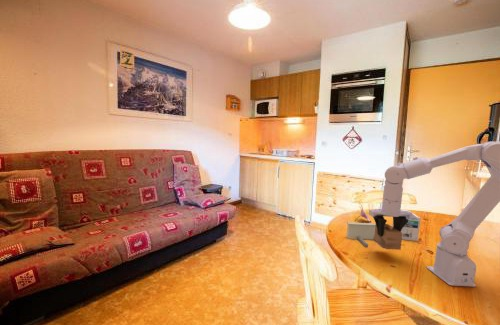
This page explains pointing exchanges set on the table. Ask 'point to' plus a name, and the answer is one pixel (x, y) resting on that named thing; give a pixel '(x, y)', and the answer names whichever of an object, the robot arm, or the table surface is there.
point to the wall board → (361, 232)
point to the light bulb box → (411, 228)
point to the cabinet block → (389, 237)
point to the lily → (364, 214)
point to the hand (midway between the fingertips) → (387, 235)
